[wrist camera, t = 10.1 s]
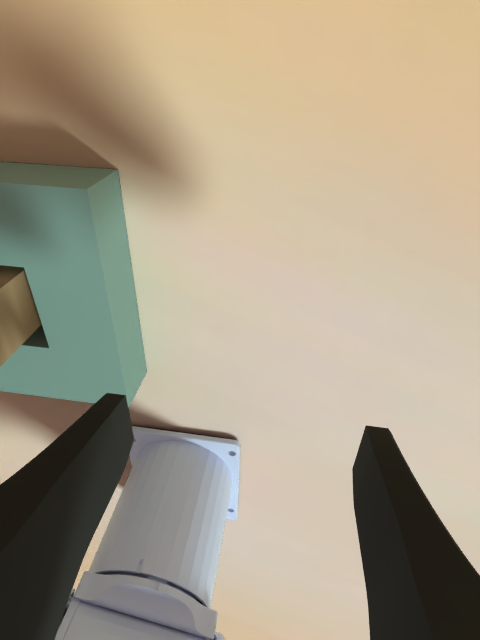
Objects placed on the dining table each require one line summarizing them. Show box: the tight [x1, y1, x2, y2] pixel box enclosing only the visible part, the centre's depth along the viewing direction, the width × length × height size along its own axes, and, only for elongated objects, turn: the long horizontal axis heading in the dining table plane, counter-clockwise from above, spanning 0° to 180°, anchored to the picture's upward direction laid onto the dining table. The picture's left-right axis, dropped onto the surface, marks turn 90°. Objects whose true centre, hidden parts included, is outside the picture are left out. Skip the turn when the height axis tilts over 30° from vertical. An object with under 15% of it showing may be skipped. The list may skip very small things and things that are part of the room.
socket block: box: [0, 162, 147, 408], centre depth 20 cm, size 12×12×3 cm
